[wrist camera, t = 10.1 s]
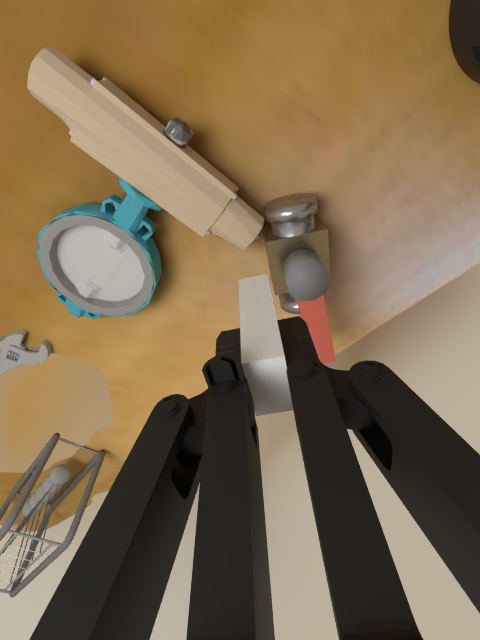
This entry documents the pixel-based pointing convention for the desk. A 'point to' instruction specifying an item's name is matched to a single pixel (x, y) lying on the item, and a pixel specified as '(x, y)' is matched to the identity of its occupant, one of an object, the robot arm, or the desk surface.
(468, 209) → the desk surface
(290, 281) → the lever
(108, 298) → the butterfly valve
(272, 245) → the valve body
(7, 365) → the adjustable wrench
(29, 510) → the newton's cradle
